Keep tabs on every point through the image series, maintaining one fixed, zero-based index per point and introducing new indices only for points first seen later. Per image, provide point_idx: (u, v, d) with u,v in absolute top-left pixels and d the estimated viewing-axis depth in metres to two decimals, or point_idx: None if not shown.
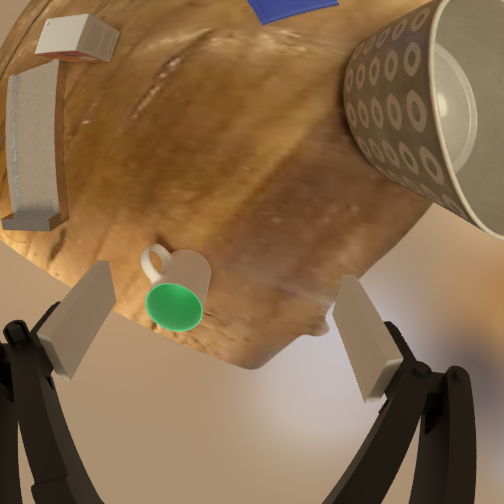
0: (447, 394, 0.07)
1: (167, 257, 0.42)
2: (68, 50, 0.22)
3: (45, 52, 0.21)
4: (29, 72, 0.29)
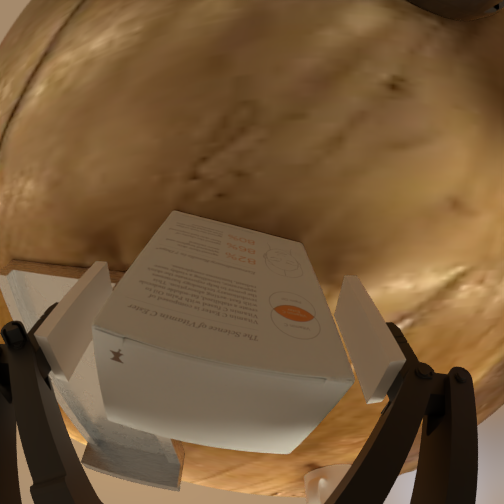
0: (449, 395, 0.07)
1: (323, 483, 0.29)
2: (263, 451, 0.10)
3: (159, 434, 0.09)
4: (44, 280, 0.16)
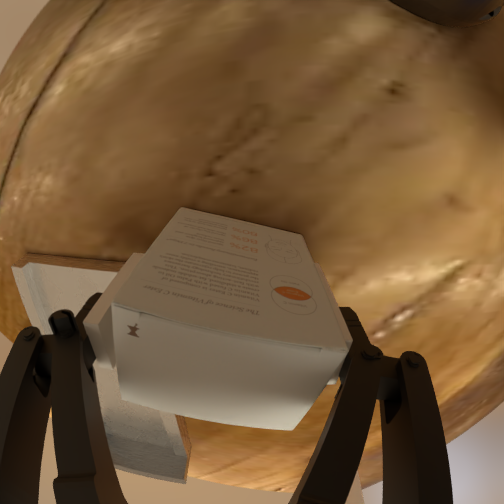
0: (403, 381, 0.08)
1: None
2: (268, 427, 0.11)
3: (170, 411, 0.10)
4: (61, 272, 0.18)
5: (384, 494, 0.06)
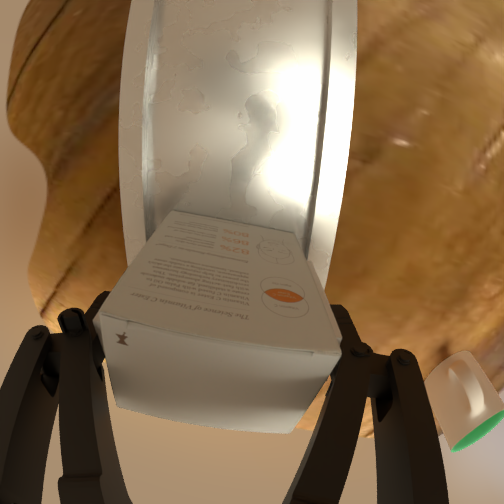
0: (394, 380, 0.08)
1: None
2: (264, 431, 0.10)
3: (165, 417, 0.10)
4: None
5: (378, 493, 0.06)
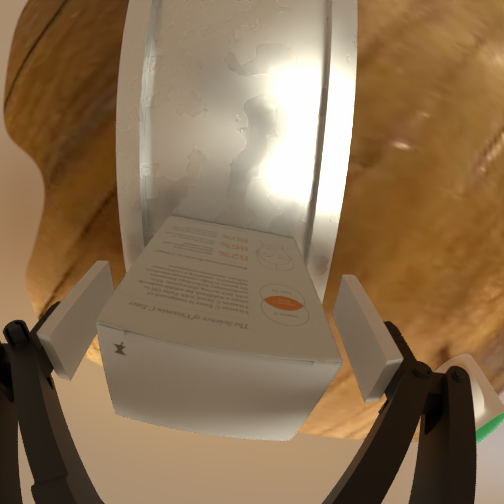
0: (447, 394, 0.07)
1: None
2: (264, 438, 0.10)
3: (164, 425, 0.10)
4: None
5: None
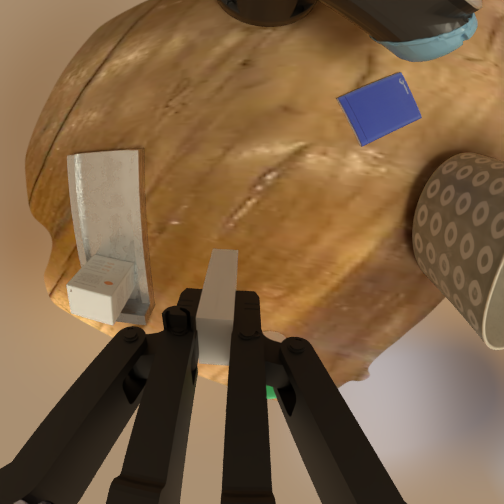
0: (290, 372, 0.09)
1: None
2: (106, 323, 0.38)
3: (82, 316, 0.37)
4: (95, 155, 0.37)
5: (316, 487, 0.07)
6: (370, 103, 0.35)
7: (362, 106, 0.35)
